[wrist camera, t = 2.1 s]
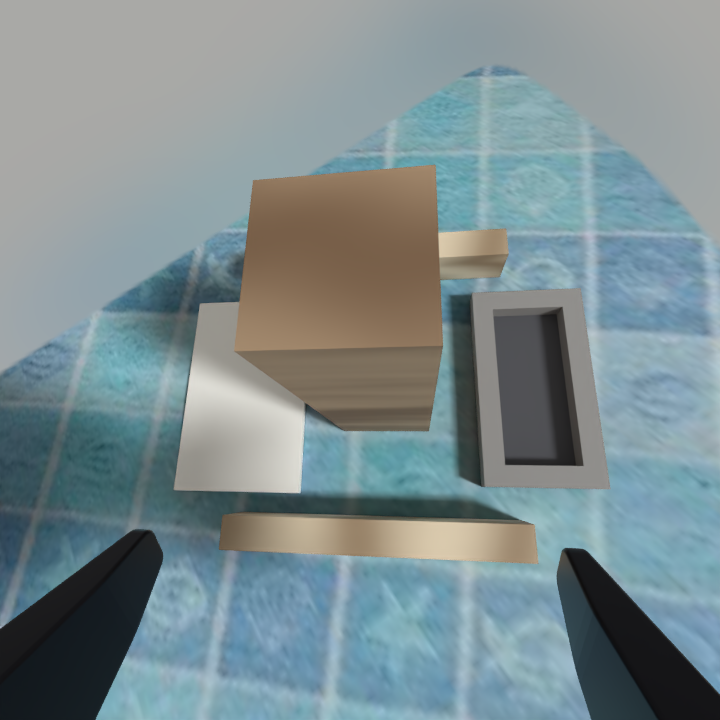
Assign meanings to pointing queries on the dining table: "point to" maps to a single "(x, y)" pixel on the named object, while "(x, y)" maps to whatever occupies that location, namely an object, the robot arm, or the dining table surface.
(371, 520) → the channel
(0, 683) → the robot arm
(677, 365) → the dining table surface
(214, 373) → the pad
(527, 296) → the tray
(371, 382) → the walnut block
